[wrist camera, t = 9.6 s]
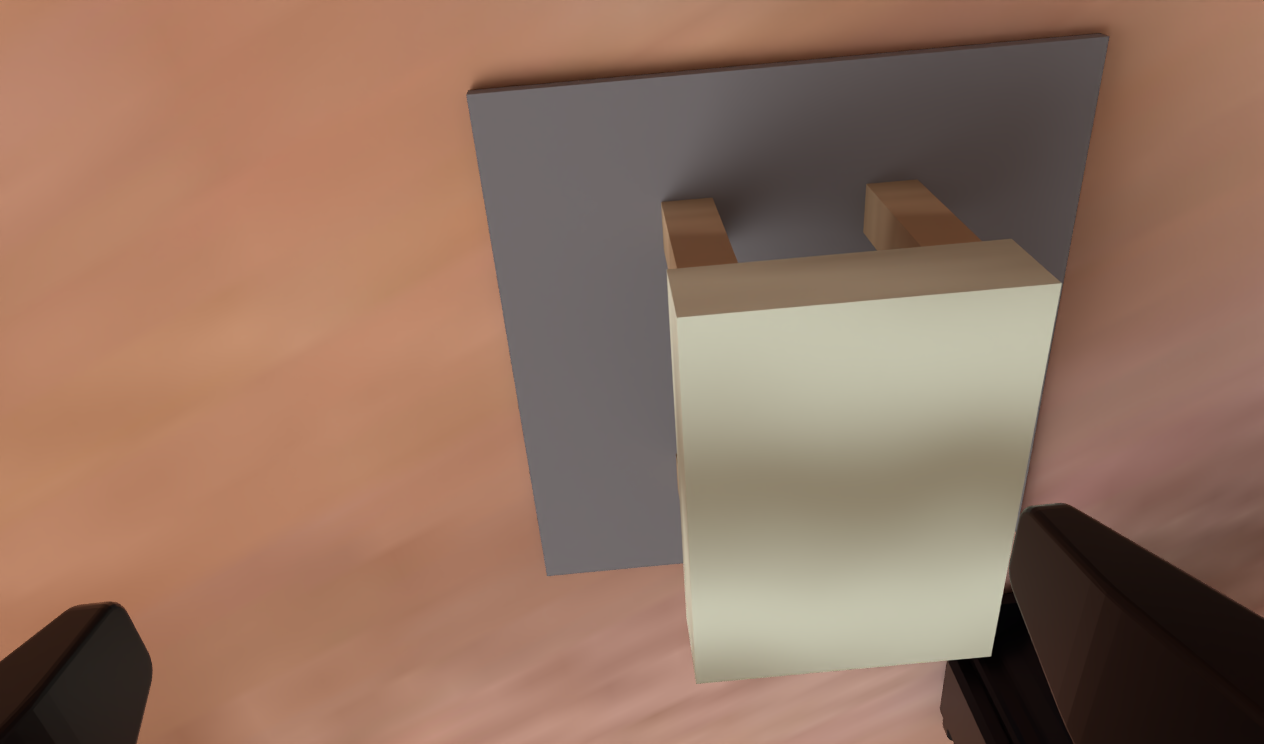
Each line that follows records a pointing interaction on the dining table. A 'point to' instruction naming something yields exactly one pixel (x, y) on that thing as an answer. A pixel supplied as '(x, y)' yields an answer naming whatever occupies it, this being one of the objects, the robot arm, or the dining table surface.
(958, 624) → the stool
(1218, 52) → the dining table surface
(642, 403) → the felt pad
